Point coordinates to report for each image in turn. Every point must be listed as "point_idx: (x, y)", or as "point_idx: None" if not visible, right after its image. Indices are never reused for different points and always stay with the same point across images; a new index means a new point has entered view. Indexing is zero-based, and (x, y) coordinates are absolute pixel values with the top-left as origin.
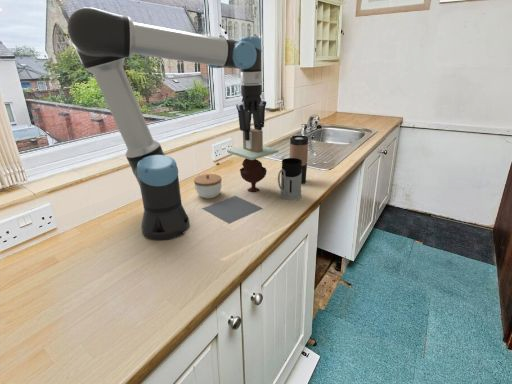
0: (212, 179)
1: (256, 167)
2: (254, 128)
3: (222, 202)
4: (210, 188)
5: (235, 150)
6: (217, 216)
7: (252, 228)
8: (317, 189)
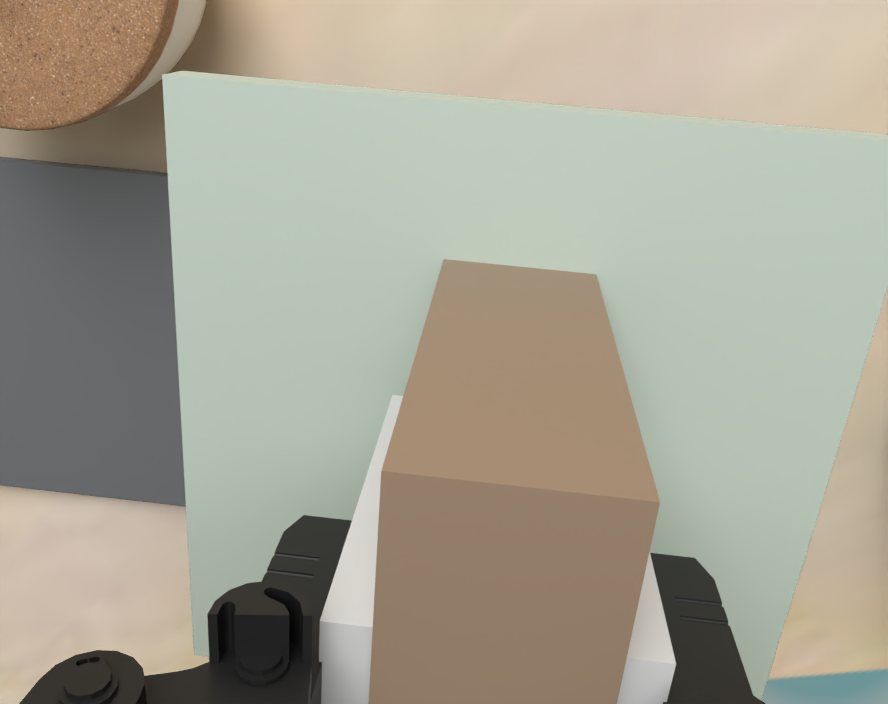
0: (14, 36)
1: None
2: (684, 696)
3: (110, 205)
4: None
5: (263, 213)
6: None
7: (69, 597)
8: (883, 621)
